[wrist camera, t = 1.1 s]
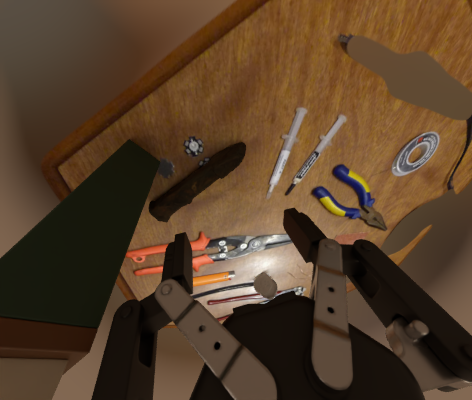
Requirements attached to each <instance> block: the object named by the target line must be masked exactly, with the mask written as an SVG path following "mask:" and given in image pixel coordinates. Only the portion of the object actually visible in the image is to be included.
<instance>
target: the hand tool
mask: <svg viewBox="0 0 472 400" xmlns="http://www.w3.org/2000/svg"><path fill="white" fill-rule="evenodd" d="M245 151H246V145H245V143H243V142H241V143H237V144H235V145H232V146H230V147H228V148H226V149H224V150H223V151H221V152H219V153H217V154H215V155H214V156H213V157H212V159H211V160H210V161H209V162H208V163H206V164H205V165H204V166H202V167H201V168H199V169H198V170H197V171H195V172H194V173H192V174H191V175H190V176H188V177H187V178H186V179H185V180H184V181H182V182H181V183H179V184H178V185H177V186H175V187H174V188H172V189H171V190H170V191H169V192H168V193H167V194H165V195H164V196H163V197H162V198H160V199H159V200H157V201H151V202H150V204H149V212H150V214H151V215H152V216H153V217H155V218H156V219H157V220H158V221H163V222H168V220H169V219H170V216H171V215H172V214H173V213H175V212H176V211H177V210H179V209H180V208H181V207H183V206H185V205H187V204H190V203H191V202H192V199H193V198H194V197H196V196H197V195H198V194H199V193H201V192H202V191H203V190H205V189H206V188H207V187H209V186H210V185H211V184H212V183H213V182H215V181H216V180H217V179H219V178H221V179H222V178H224V177H225V176H227V175H228V174H229V173H230V172H231V171H233V170H234V169H235V168H236V167H238V166H239V164H240V163H241V162H242V160H243V158H244V156H245Z"/></svg>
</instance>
